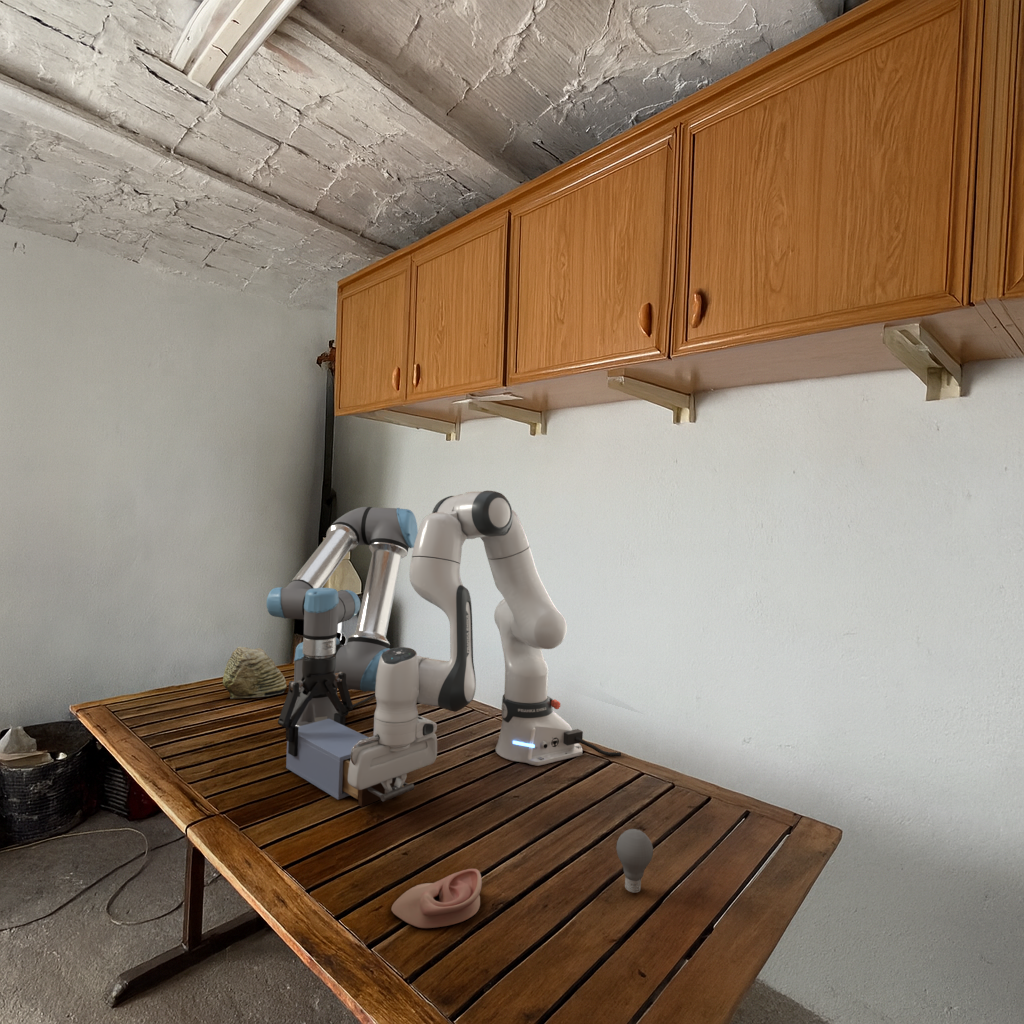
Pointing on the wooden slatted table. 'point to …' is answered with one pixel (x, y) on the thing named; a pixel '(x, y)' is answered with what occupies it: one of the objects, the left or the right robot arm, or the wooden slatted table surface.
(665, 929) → the wooden slatted table surface
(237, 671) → the fossil
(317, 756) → the cabinet
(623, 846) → the light bulb
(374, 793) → the drawer
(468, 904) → the anatomical model
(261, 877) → the wooden slatted table surface
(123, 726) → the wooden slatted table surface
